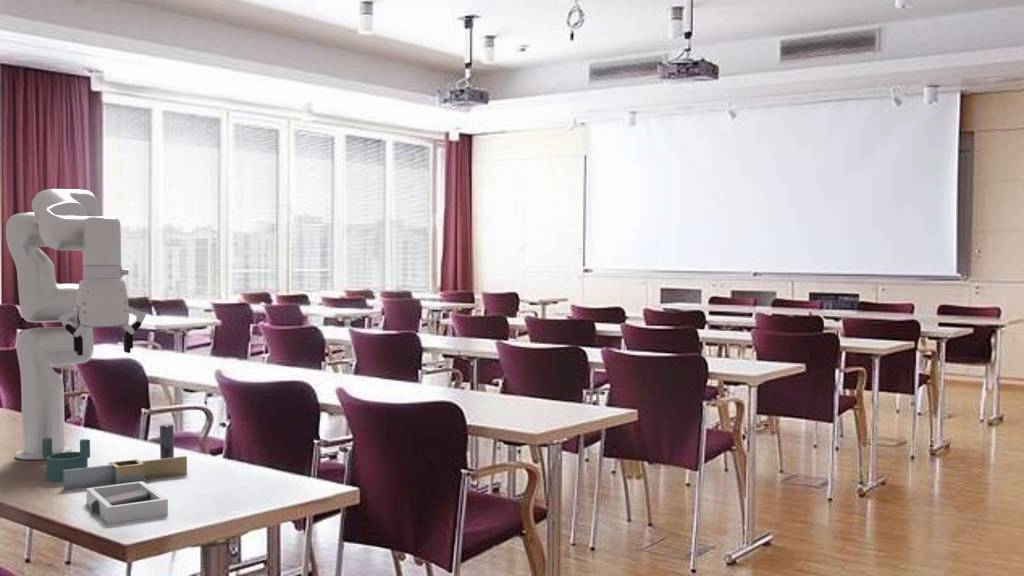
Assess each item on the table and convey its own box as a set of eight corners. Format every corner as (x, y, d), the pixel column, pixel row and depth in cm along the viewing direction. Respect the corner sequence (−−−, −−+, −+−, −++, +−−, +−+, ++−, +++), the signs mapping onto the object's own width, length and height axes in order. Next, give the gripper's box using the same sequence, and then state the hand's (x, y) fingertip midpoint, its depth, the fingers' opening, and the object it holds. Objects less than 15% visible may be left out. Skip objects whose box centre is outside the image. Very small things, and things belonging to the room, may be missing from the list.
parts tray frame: (86, 503, 201) (86, 488, 201) (142, 495, 207) (142, 481, 207) (108, 523, 186) (107, 507, 186) (167, 514, 192) (167, 499, 192)
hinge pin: (158, 467, 233) (158, 425, 232) (171, 466, 235) (171, 424, 234) (162, 470, 230) (162, 427, 230) (175, 468, 232) (175, 426, 232)
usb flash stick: (90, 513, 193) (90, 498, 193) (144, 499, 203) (144, 486, 203) (106, 517, 190) (106, 503, 190) (160, 503, 200) (160, 490, 200)
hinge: (66, 492, 210) (66, 473, 210) (60, 486, 215) (60, 468, 214) (190, 476, 225) (190, 458, 224) (182, 471, 230) (182, 453, 229)
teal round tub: (91, 479, 221) (90, 439, 221) (45, 484, 217) (45, 443, 216) (85, 472, 229) (85, 433, 229) (41, 476, 224) (41, 436, 224)
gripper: (140, 273, 221) (141, 350, 222) (55, 274, 212) (57, 354, 212) (148, 274, 215) (149, 353, 216) (61, 275, 205) (63, 357, 206)
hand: (103, 353), depth 214 cm, fingers open, 9 cm apart
